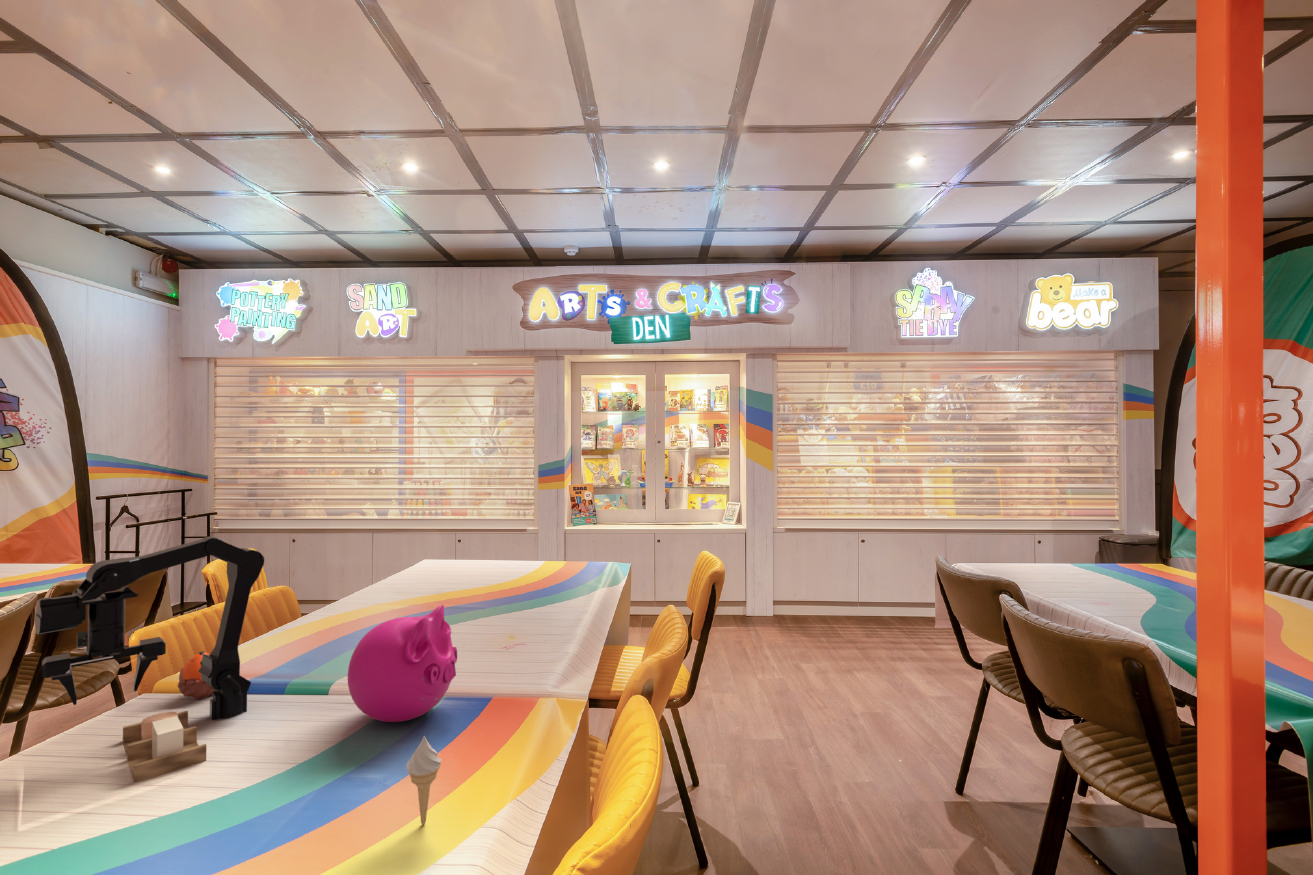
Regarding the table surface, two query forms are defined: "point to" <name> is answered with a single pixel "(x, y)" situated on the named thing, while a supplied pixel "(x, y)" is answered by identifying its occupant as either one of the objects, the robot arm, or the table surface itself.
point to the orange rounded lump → (194, 679)
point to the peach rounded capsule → (147, 723)
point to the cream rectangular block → (166, 737)
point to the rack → (149, 767)
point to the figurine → (403, 667)
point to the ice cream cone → (423, 773)
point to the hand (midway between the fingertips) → (105, 697)
